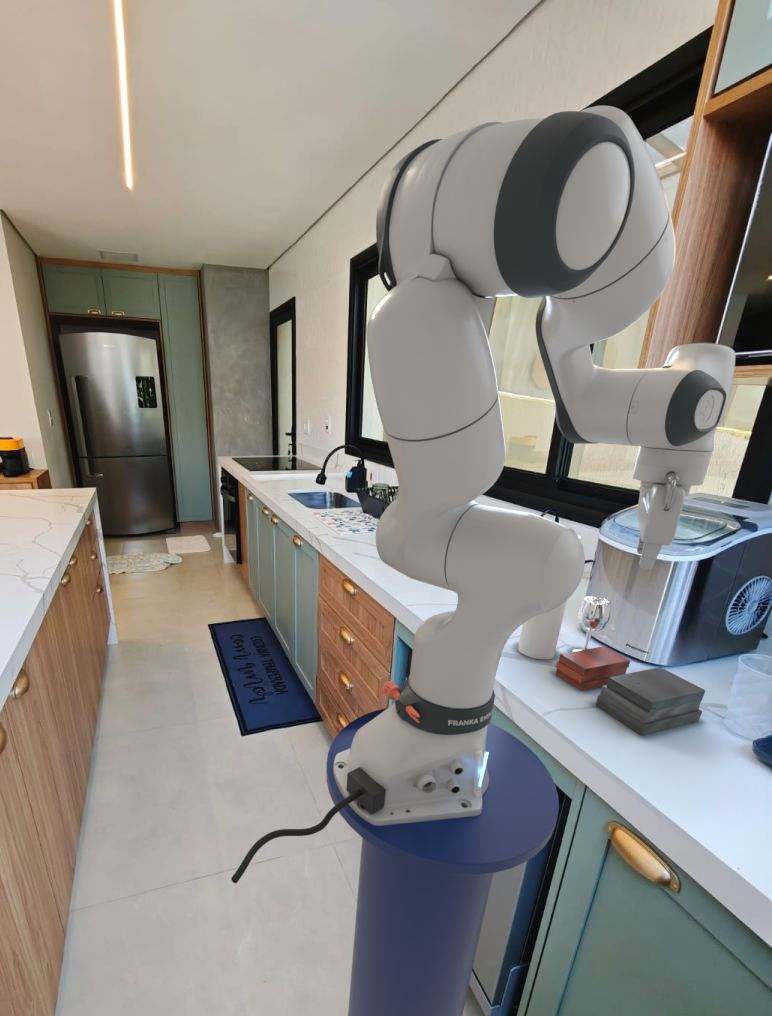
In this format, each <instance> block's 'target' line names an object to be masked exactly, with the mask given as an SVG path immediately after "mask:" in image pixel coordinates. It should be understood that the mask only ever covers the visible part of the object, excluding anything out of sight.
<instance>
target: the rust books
mask: <svg viewBox="0 0 772 1016" xmlns="http://www.w3.org/2000/svg"><path fill="white" fill-rule="evenodd" d="M555 668H556V669H555V675H556V676H558V677H559V678H561V679H563V680H564V681H565V682H567V683H569V684H570V685H571V686H573V687H575V688H576V689H578V690H579V691H581V692H584V691H587V690H593V689H598V688H602V686H604V685H607V683H608V680H609V677H613V676H618V675H623V674H627V670H628V667H627V668H622V669H617V670H612V671H607V672H602V673H597V674H591V675H586V676H583V675H581V674H579V673H578V672H576V671H574V670H573V669H571V668H570V667H568V666H566V665H565V664H563V663H562V662H560V661H559V660H557V661H556V665H555Z"/></svg>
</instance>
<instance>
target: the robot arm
mask: <svg viewBox="0 0 772 1016" xmlns="http://www.w3.org/2000/svg"><path fill="white" fill-rule="evenodd" d="M385 178H386V179H385V180H384V183H383V185H382V188H381V191H380V194H379V198H378V203H377V209H376V220H375V237H376V247H377V252H378V256H379V257H378V264H377V270H378V271H377V272H378V275H379V278H380V281H381V283H382V284H383V286H384V288H385V290H386V291H387V292H386V293H385V294H384V295H383V296H382V297H381V298H380V299H379V300H378V302H377V303H376V304H375V306H374V308H373V309H372V311H371V313H370V315H369V319H368V320H367V321H368V322H367V325H366V343H367V344H366V347H367V356H368V358H367V359H368V365H369V371H370V378H371V384H372V389H373V394H374V397H375V398H374V399H375V402H376V407H377V410H378V415H379V418H380V421H381V425H382V429H383V432H384V434H385V438H386V441H387V444H388V448H389V452H390V455H391V458H392V462H393V467H394V470H395V474H396V478H397V483H398V496H397V499H394V500H393V501H392V502H391V503H390V504H389V505H388V506H387V507H386V508H385V510H384V511H383V512H382V514H381V515H380V518H379V520H378V522H377V525H376V529H375V548H376V551H377V554H378V556H379V558H380V560H381V561H382V563H384V564H385V565H387V566H388V567H390V568H392V569H393V570H395V571H397V572H398V573H400V574H402V575H403V576H406V577H408V578H409V579H411V580H414V581H418V582H421V583H425V584H428V585H431V586H434V587H437V588H441V589H444V590H447V591H451V592H453V593H456V595H457V604H456V607H455V610H449V611H445V612H441V613H437V614H434V615H432V616H430V617H428V618H426V619H425V620H424V621H422V622H421V624H420V625H419V627H418V628H417V630H416V631H415V632H414V633H415V634H414V636H413V641H412V642H413V643H412V650H411V651H412V653H411V660H410V661H411V662H410V670H409V675H408V676H407V678H406V679H405V682H404V683H403V685H402V688H400V687H399V686H398V685H397V684H396V683H395V682H394V680H393V681H392V680H388V681H386V682H384V684H383V685H382V693H384V694H385V695H386V696H387V698H388V699H389V700H391V701H394V700H395V701H394V703H393V704H391V705H390V706H388V707H386V708H387V709H386V710H385V711H383V712H382V713H381V714H379V715H378V716H377V717H375V718H374V719H372V720H371V721H370V722H368V723H367V724H365V725H364V726H363V727H361V728H360V729H359V730H358V731H357V732H356V734H355V736H354V738H353V741H352V745H351V748H350V749H347V750H345V751H342V752H340V753H338V754H337V755H336V756H335V759H334V765H333V773H334V777H335V781H336V783H337V786H338V788H339V790H340V792H341V794H342V795H343V797H344V799H343V800H342V801H341V802H339V803H338V804H337V805H334V806H333V807H331V808H330V810H329V811H328V812H327V813H326V814H325V816H324V818H323V819H322V820H321V821H320V822H319V823H318V824H316V825H313V826H311V827H305V828H283V829H276V830H273V831H270V832H267V834H265V835H263V836H262V837H261V838H259V839H257V841H256V842H255V843H254V844H253V845H251V847H250V849H249V850H248V852H247V853H246V855H245V857H244V858H243V859H242V861H241V862H240V865H239V866H238V868H237V869H236V871H235V873H234V874H233V875H232V876H231V882H232V883H233V884H237V883H238V882H240V880H241V878H242V876H243V875H244V873H245V872H246V871H247V869H248V867H249V865H250V863H251V861H252V860H253V858H254V857H255V856H256V854H257V853H258V851H259V850H260V849H261V848H262V847H263V846H264V845H266V844H267V843H269V842H270V841H272V840H274V839H277V838H281V837H305V836H310V835H315V834H317V833H319V832H321V831H323V830H324V829H325V828H326V827H327V826H328V825H329V823H330V822H331V820H332V819H333V817H334V816H336V815H337V814H338V813H339V811H340V810H341V809H342V808H343V807H345V806H346V805H348V804H349V806H350V807H351V808H352V809H353V810H354V812H355V813H357V814H358V815H359V816H360V817H361V818H362V819H364V820H365V821H367V822H368V823H370V824H372V825H375V826H383V825H394V824H403V823H413V822H423V821H433V820H442V819H452V818H462V817H471V816H478V815H480V814H481V812H482V796H483V794H484V793H485V791H486V789H487V787H488V784H489V775H488V770H487V758H488V754H489V752H486V736H487V725H488V724H489V722H490V723H491V721H492V717H493V713H494V705H495V700H496V699H495V697H496V693H495V690H494V686H495V680H496V677H497V672H498V669H499V668H498V667H499V664H500V661H501V657H502V654H503V651H504V648H505V646H506V644H507V642H508V640H509V639H510V637H511V636H512V635H513V634H514V632H515V631H516V630H517V629H518V628H520V627H521V626H522V625H523V623H524V622H526V621H527V620H529V619H531V618H533V617H535V616H537V615H539V614H542V613H545V612H548V611H551V610H553V609H555V608H557V607H558V606H560V605H561V604H563V603H564V602H565V601H566V600H567V601H568V600H569V599H570V598H571V597H572V596H573V594H574V593H575V591H576V590H577V589H578V587H579V586H580V583H581V581H582V578H583V575H584V572H585V564H586V562H585V561H586V557H585V551H584V547H583V544H582V540H581V541H580V539H579V537H578V535H579V534H577V532H576V531H575V529H573V528H571V527H569V526H566V525H564V524H561V523H559V522H557V521H555V520H552V519H549V518H547V517H544V516H541V515H539V514H536V513H531V512H526V511H520V510H514V509H508V508H502V507H496V506H491V505H485V504H482V503H479V502H476V501H475V500H476V499H477V498H479V497H481V496H482V495H483V494H485V493H486V492H487V491H489V489H491V488H492V487H493V486H494V484H495V483H496V482H497V481H498V479H499V478H500V476H501V473H502V472H503V470H504V466H505V464H506V463H505V462H506V458H507V448H506V441H505V433H504V426H503V418H502V417H503V416H502V409H501V403H500V395H499V393H500V392H499V388H498V387H499V386H498V379H497V373H496V368H495V363H494V358H493V353H492V349H491V346H490V343H489V332H490V331H489V330H490V323H491V322H490V321H491V318H492V317H491V316H492V312H493V308H494V305H495V302H496V297H511V296H519V297H521V298H525V299H538V298H539V299H540V298H542V299H541V301H540V302H539V305H538V308H537V311H536V316H535V336H536V341H537V342H536V343H537V347H538V350H539V351H538V352H539V354H540V357H541V361H542V364H543V368H544V370H545V373H546V377H547V380H548V384H549V386H550V387H549V388H550V389H551V392H552V396H553V400H554V407H555V410H554V411H555V421H556V424H557V427H558V429H559V431H560V433H561V434H562V435H563V437H564V438H565V439H566V440H567V441H568V442H569V443H572V444H576V445H577V444H580V445H581V444H583V445H584V444H585V445H586V444H590V445H591V444H592V445H593V444H596V445H597V444H603V445H604V444H606V445H617V446H618V445H619V446H629V447H631V446H632V447H639V448H638V451H637V456H636V459H635V464H634V468H633V471H632V474H631V475H632V476H631V478H632V479H633V480H636V481H640V483H639V486H638V491H639V497H638V503H637V513H636V518H637V523H638V528H639V538H638V541H637V542H638V544H637V546H636V552H637V554H638V555H640V558H639V562H638V567H639V569H641V570H647V571H651V570H653V569H654V566H655V563H656V559H657V558H658V556H659V554H660V552H661V550H662V546H666V547H667V546H671V544H672V543H673V541H674V539H675V537H676V534H677V530H678V526H679V522H680V519H681V515H682V510H683V507H684V502H685V497H687V496H689V495H690V490H691V488H692V486H694V487H695V486H701V485H703V484H704V481H705V479H706V475H707V472H708V468H709V465H710V462H711V458H712V455H713V451H714V448H715V442H714V441H715V435H716V430H717V428H718V427H719V424H721V422H722V420H723V419H724V416H725V413H726V409H727V407H728V403H729V398H730V395H731V391H732V385H733V381H734V374H735V369H736V367H735V366H736V351H735V350H734V349H733V348H732V347H729V346H728V345H726V344H723V343H715V342H709V341H708V342H707V341H697V342H687V343H683V344H680V345H677V346H675V347H673V348H672V349H671V350H670V351H669V353H668V355H667V357H666V359H665V362H664V364H663V365H662V366H661V367H654V368H619V369H615V368H606V367H601V366H599V365H596V364H594V361H593V356H592V355H593V354H592V351H591V346H590V345H591V344H592V345H593V344H595V343H599V342H602V341H605V340H608V339H610V338H612V337H615V336H617V335H618V334H620V333H622V332H623V331H625V330H627V329H628V328H630V327H631V326H632V325H634V324H635V323H636V322H637V321H639V320H640V319H641V318H642V317H643V316H644V315H645V314H646V313H647V312H648V311H649V310H650V309H651V308H652V307H653V305H654V304H655V303H656V302H657V300H659V298H660V296H661V295H662V294H663V292H664V290H665V289H666V287H667V284H668V282H669V281H670V278H671V276H672V273H673V270H674V268H675V263H676V250H677V249H676V234H675V229H674V223H673V220H672V215H671V211H670V207H669V204H668V200H667V196H666V192H665V189H664V186H663V182H662V179H661V177H660V174H659V172H658V169H657V167H656V164H655V162H654V159H653V157H652V155H651V153H650V151H649V149H648V147H647V145H646V143H645V141H644V139H643V137H642V135H641V133H640V132H639V129H638V128H637V127H636V125H635V123H634V121H633V120H632V119H631V117H630V116H629V115H628V114H627V113H626V112H625V111H624V110H622V109H620V108H618V107H615V106H612V105H595V106H591V107H586V108H584V109H582V110H580V111H578V110H565V111H558V112H555V113H552V114H550V115H548V116H547V117H543V118H527V119H518V120H510V121H506V122H505V121H504V122H503V121H502V122H501V121H489V122H485V123H482V124H479V125H475V126H471V127H469V128H466V129H464V130H461V131H457V132H455V133H453V134H450V135H449V136H447V137H445V138H436V139H431V140H429V141H426V142H424V143H422V144H421V145H419V146H417V147H416V148H414V149H413V150H411V151H410V152H409V153H407V154H406V155H405V156H404V157H402V158H401V159H400V160H399V161H398V162H397V163H396V165H395V166H393V168H392V169H391V170H390V172H388V175H387V176H386V177H385ZM385 275H386V276H385ZM387 279H388V280H387ZM388 281H389V282H388ZM464 807H465V808H464ZM363 808H365V809H363Z"/></svg>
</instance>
